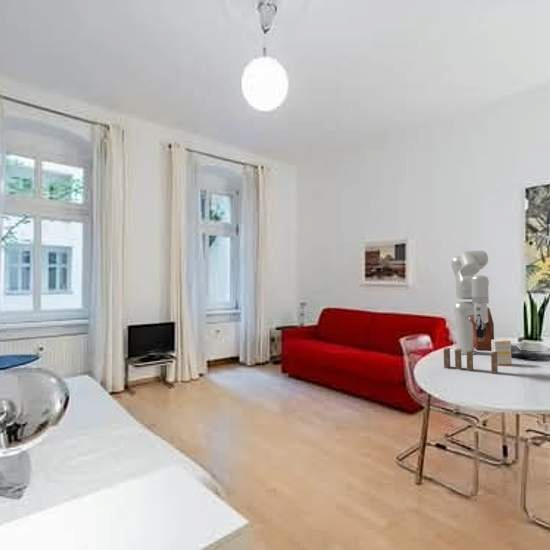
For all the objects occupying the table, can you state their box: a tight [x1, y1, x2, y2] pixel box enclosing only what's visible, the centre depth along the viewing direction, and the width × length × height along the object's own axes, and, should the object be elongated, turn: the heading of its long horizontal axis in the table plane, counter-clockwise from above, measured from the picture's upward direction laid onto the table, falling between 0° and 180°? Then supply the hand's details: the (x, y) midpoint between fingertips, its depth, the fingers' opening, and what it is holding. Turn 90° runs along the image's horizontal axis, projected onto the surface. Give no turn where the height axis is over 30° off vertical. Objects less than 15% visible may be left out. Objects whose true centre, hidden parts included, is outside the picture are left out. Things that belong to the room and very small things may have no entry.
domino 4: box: [478, 322, 484, 342], centre depth 195 cm, size 2×5×10 cm, turn 143°
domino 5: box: [490, 351, 499, 375], centre depth 192 cm, size 2×5×10 cm, turn 143°
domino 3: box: [466, 350, 474, 372], centre depth 198 cm, size 2×5×10 cm, turn 143°
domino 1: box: [443, 347, 451, 369], centre depth 205 cm, size 2×5×10 cm, turn 143°
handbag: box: [469, 306, 495, 351], centre depth 254 cm, size 10×19×35 cm, turn 163°
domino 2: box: [454, 349, 463, 370], centre depth 202 cm, size 2×5×10 cm, turn 143°
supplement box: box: [491, 339, 513, 366], centre depth 208 cm, size 8×5×13 cm, turn 84°
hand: (481, 336), depth 195 cm, fingers closed on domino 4, 4 cm apart
